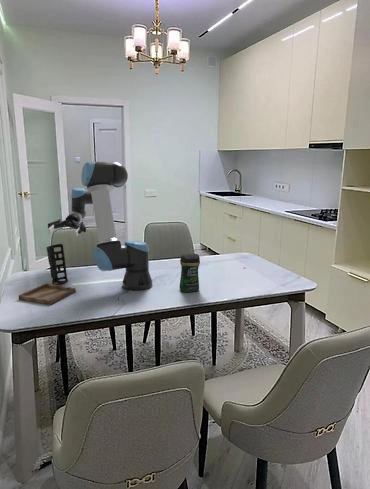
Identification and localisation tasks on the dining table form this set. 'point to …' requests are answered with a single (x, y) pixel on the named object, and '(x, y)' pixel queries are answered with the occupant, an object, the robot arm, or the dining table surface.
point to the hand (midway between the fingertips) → (62, 233)
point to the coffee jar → (189, 272)
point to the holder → (54, 267)
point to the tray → (47, 294)
